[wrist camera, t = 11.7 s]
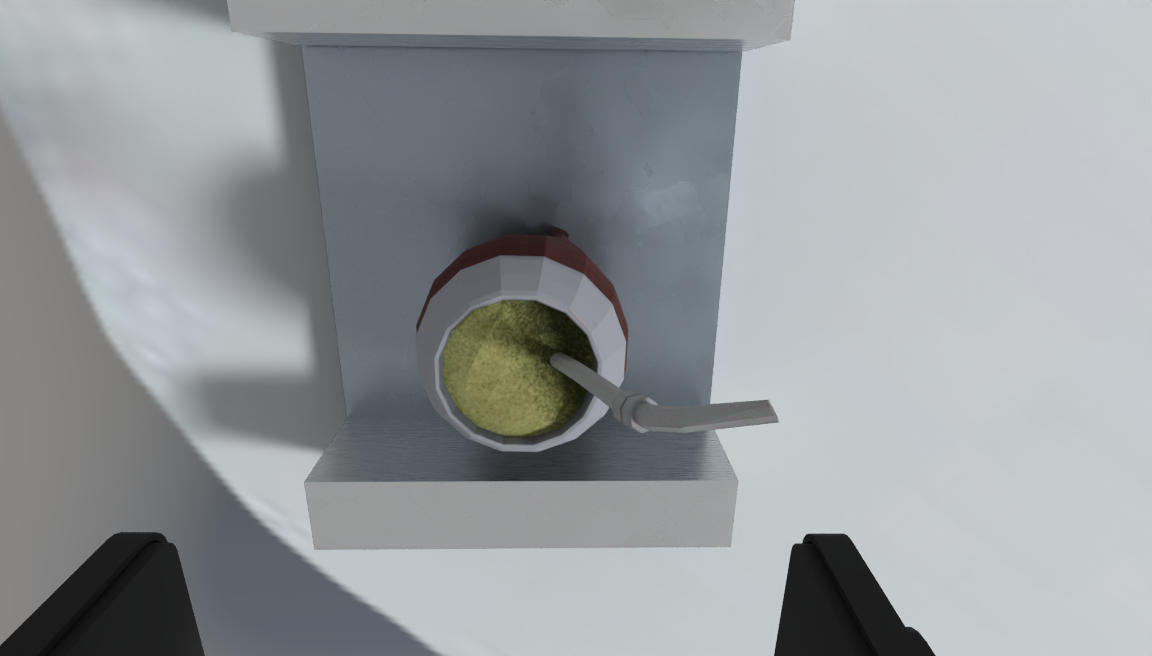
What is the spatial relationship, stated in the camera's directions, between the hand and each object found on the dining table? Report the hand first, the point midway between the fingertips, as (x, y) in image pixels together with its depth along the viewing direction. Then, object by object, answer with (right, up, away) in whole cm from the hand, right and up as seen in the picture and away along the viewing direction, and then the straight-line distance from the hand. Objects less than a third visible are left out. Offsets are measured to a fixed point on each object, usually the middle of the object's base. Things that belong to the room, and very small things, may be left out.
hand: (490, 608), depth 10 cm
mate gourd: (0, +6, +17) cm, 18 cm away
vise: (-1, +11, +16) cm, 20 cm away
